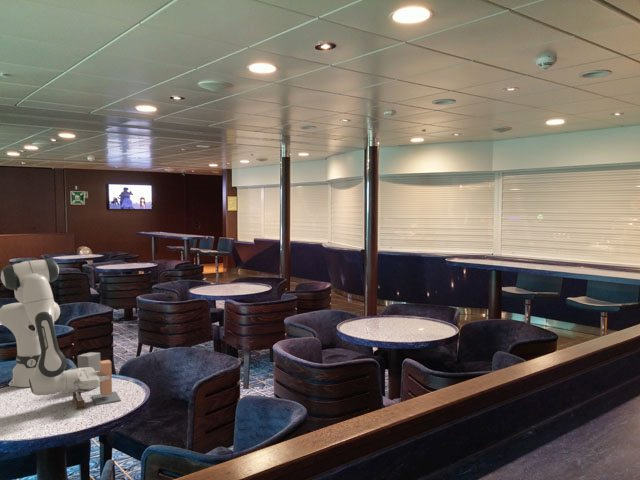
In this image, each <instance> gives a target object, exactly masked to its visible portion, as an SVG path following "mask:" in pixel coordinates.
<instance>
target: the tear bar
mask: <svg viewBox="0 0 640 480" xmlns="http://www.w3.org/2000/svg"><path fill="white" fill-rule="evenodd" d="M72 400H73V403H74V406H75V409H76V410H83V409H85V406H86V405H85V403H86V402H85V400H84V399H83V397H82V392H81V390H80V391H72Z"/></svg>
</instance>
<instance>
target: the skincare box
mask: <svg viewBox="0 0 640 480" xmlns="http://www.w3.org/2000/svg"><path fill="white" fill-rule="evenodd" d="M76 357H77V358H76V359H77V368H84V367H92V368H94V370H95V371H100V361H101V352H94V351H93V352H92V351H91V352H87V353H82V354H79V355H77V356H76ZM93 389H95V388H90V389H81V388H80V387H79V388H78V390H84V391H91V390H93Z"/></svg>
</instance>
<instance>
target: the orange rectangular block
mask: <svg viewBox="0 0 640 480" xmlns="http://www.w3.org/2000/svg"><path fill="white" fill-rule="evenodd" d="M112 373H113V372H112V361H111V360H110V359H105V360H100V376H105V375H109V380H104V381H102V382H100V386H99V392H100V393H99V394H101V395H102V396H104V395H110V394H112V392H113V388H112V387H113V384H112V382H113V381H112V380H113V377H112Z"/></svg>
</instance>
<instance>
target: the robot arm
mask: <svg viewBox="0 0 640 480" xmlns="http://www.w3.org/2000/svg"><path fill="white" fill-rule="evenodd" d="M59 273H60V267H59V265H58V263H57V261H55V260H54V259H52V258H44V259H35V260H33V259H31V260H26V261H25V260H23V261H21V262H18V263H15V264H8V265H6V266H3V267H2V269H1V273H0V280H1V283H2V284H3V286H4V287H5V288H6V289H8V290H13V291H14V298H15V299H16V300H17V301H18V302H13V303H8V304H3V305H2V306H1V307H0V324H1V325H2V326H4V327H6V328H7V329H8V330H9V331H10V332H11V333H12V334H13V336H14V337H15V341H16V352H17V354H16V357H15V360H16V365H15V366H13V368H12V369H11V373H12V374H13V375H12V378H11V380H10V381H9V383H8V385H9V386H8V387H17V388H30V391H31V393H32V394H33V395H35V396H50V395H55V394H57V393H67V392H76V391H78V390H79V387H80V388H81V389H80V390H83V389H90V388H94V389H95V388H100V382H102V381H104V380H109V375H105V376H100V371H95V370H94V368H92V367H84V368H78V367H77V368H76V367H75V366H74V367H70V368H69V369H67V366H68V363H67V362H68V360H67V358H66V356H65V355H64V353H63V352H62V351H61V349H60V348H59V347H60V346H59V344H58V340H57V339H58V338H57V334H56V329H55V322H57V320H59V317H60V315H61V307H60V305H59V304H58V302H56V301H55V299H54V294H53V290H52V286H51V285H50V283H52V282H54V281H56V280H57V279H58V278H59ZM32 325H33V328H35V330H32V329H30V328H29V326H32ZM66 369H67V370H66ZM11 382H13V383H11Z"/></svg>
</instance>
